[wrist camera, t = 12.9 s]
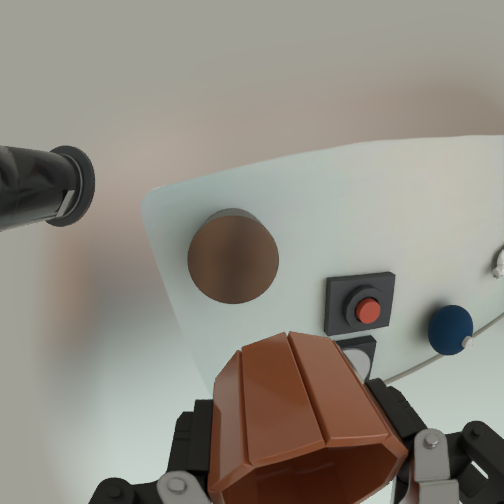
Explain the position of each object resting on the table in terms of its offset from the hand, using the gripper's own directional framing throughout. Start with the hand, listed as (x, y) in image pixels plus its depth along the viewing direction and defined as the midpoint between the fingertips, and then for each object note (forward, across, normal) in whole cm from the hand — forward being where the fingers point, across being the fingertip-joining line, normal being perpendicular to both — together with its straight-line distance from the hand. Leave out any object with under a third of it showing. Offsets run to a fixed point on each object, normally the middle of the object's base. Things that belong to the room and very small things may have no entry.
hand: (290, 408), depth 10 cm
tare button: (+23, -15, +7) cm, 28 cm away
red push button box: (+25, -15, +7) cm, 30 cm away
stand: (+25, +2, -2) cm, 26 cm away
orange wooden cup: (+2, 0, 0) cm, 2 cm away
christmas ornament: (+26, -32, +13) cm, 43 cm away
